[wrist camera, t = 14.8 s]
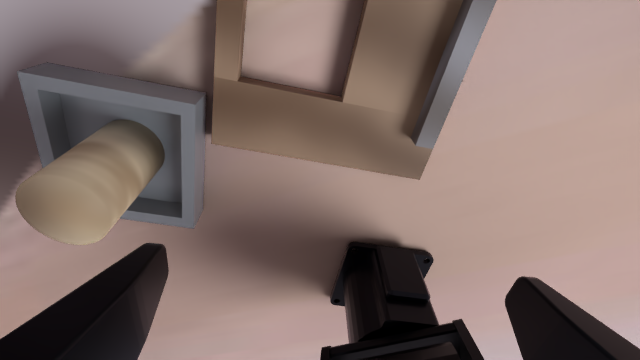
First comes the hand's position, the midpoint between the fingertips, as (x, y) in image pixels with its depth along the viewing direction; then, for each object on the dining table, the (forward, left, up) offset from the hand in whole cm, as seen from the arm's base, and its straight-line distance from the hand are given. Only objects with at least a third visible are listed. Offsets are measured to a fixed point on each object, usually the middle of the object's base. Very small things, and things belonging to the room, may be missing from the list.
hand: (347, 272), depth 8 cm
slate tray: (-4, +11, -12) cm, 17 cm away
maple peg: (-4, +11, -11) cm, 16 cm away
